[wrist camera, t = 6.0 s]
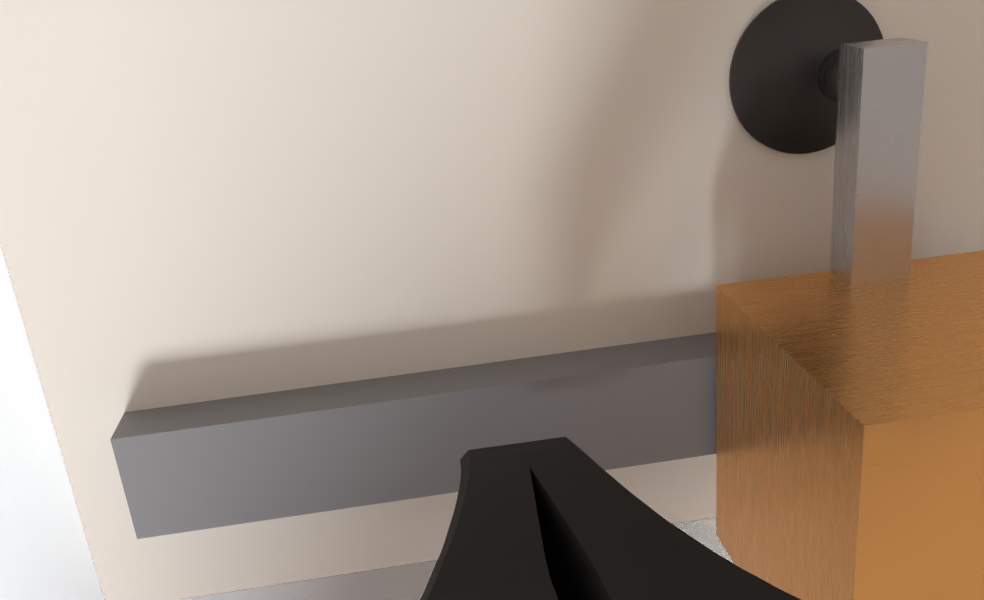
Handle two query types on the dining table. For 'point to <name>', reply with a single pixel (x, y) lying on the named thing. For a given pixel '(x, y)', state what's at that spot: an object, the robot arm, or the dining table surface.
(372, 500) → the pitch plate
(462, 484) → the robot arm
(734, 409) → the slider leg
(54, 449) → the dining table surface
